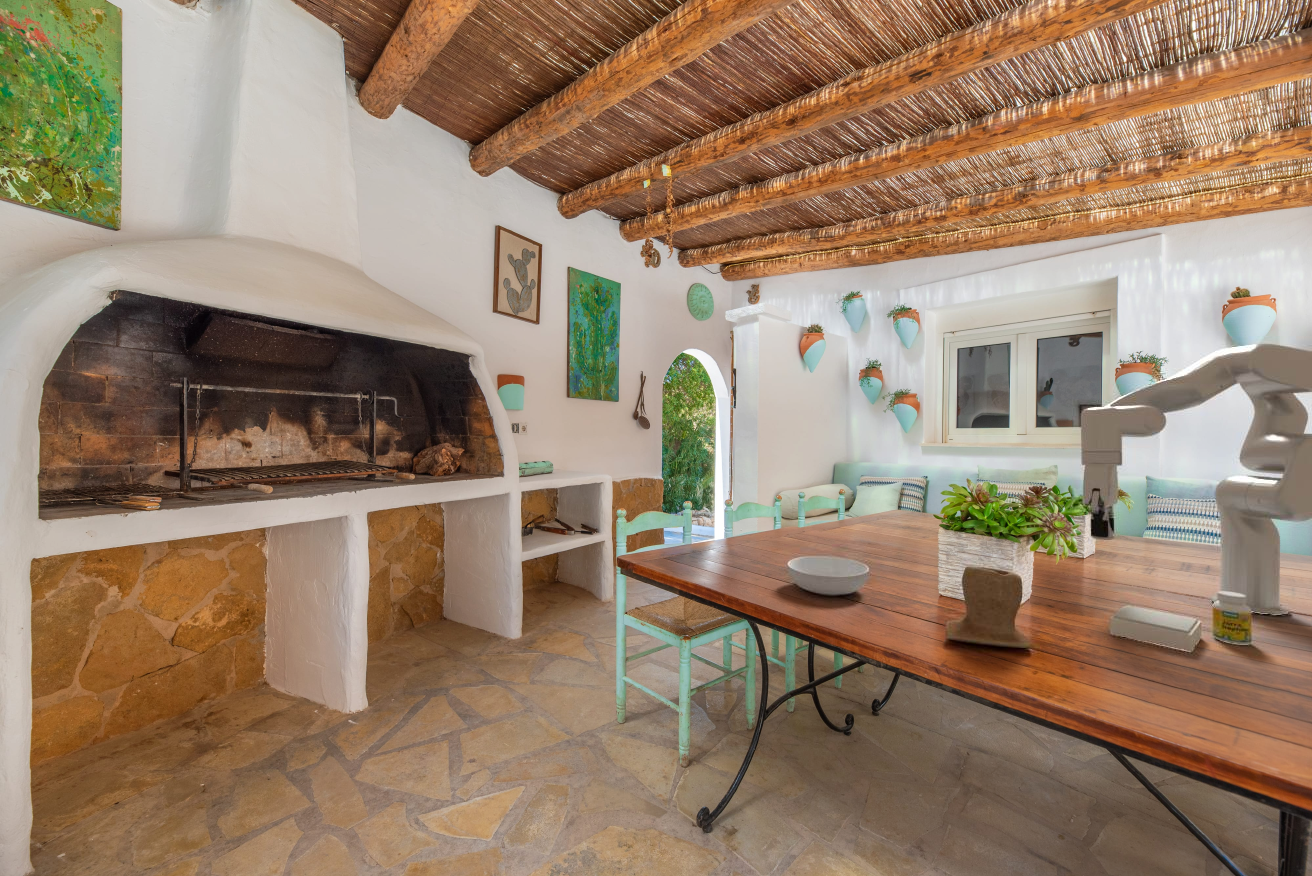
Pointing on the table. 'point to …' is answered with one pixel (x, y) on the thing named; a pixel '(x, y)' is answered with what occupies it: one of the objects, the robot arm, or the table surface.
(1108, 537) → the rook chess piece
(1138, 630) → the plinth
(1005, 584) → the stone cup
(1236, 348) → the robot arm
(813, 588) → the serving bowl
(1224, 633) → the supplement bottle
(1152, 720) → the table surface
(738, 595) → the table surface
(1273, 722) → the table surface
